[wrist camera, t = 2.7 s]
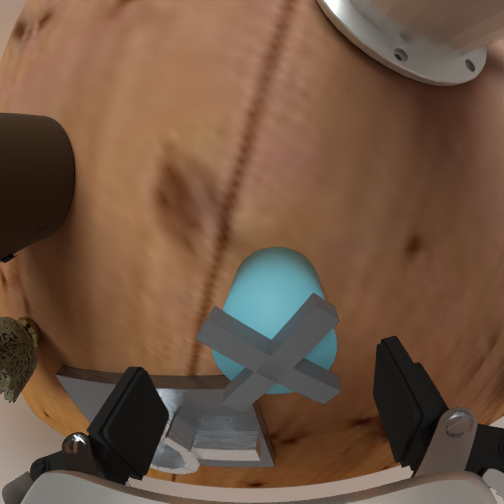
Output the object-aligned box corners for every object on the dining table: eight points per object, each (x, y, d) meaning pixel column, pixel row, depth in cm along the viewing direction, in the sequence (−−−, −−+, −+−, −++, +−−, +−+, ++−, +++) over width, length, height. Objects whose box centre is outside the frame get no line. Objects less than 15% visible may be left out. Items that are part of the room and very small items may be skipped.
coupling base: (249, 373, 18) (242, 415, 14) (275, 455, 22) (273, 486, 18) (62, 366, 21) (42, 389, 17) (117, 440, 25) (106, 462, 21)
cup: (67, 365, 21) (25, 414, 13) (28, 352, 22) (-10, 390, 14) (39, 300, 19) (-18, 345, 11) (4, 294, 19) (-43, 328, 12)
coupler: (313, 240, 15) (339, 301, 8) (322, 317, 16) (341, 402, 10) (225, 254, 16) (188, 321, 9) (243, 328, 17) (225, 413, 10)
